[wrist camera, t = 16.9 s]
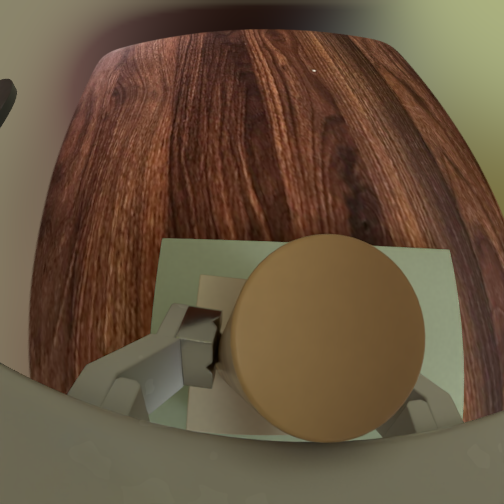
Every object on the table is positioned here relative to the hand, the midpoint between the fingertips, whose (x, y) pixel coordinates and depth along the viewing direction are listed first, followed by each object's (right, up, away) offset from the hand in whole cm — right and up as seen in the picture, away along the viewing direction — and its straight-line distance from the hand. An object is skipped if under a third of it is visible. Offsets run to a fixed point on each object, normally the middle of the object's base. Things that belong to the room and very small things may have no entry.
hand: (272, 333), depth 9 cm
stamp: (-1, -3, +6) cm, 7 cm away
